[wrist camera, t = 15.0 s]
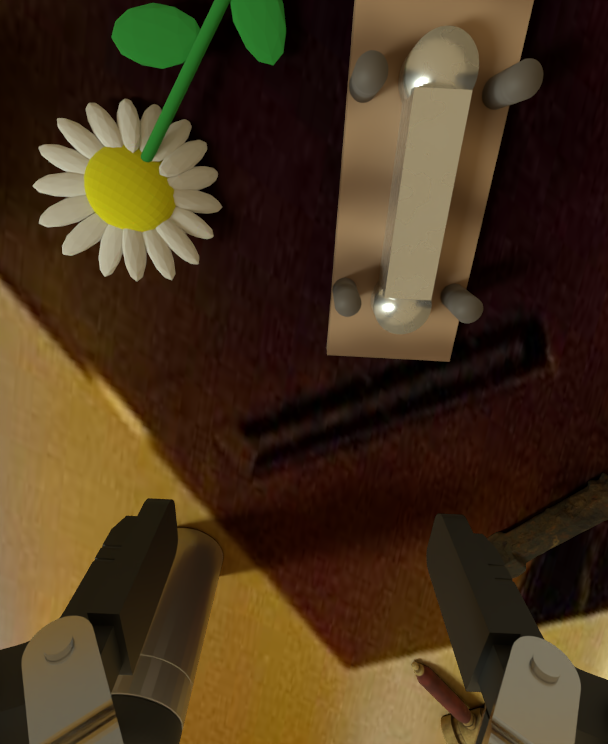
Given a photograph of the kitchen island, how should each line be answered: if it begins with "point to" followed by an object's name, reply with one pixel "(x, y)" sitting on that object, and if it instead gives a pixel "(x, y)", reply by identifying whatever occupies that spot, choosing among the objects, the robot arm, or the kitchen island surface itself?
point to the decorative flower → (148, 145)
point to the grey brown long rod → (553, 526)
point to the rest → (377, 155)
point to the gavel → (450, 708)
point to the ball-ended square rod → (423, 173)
